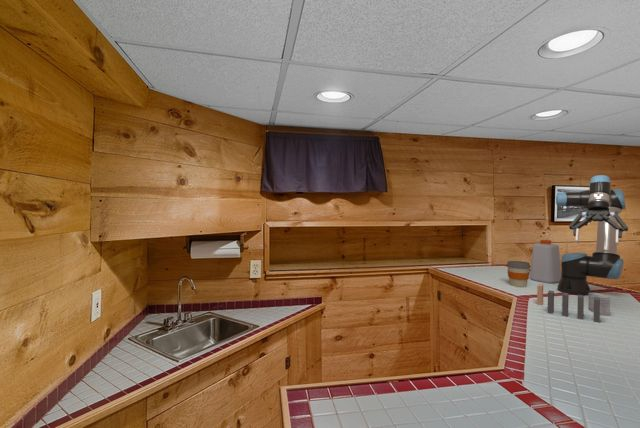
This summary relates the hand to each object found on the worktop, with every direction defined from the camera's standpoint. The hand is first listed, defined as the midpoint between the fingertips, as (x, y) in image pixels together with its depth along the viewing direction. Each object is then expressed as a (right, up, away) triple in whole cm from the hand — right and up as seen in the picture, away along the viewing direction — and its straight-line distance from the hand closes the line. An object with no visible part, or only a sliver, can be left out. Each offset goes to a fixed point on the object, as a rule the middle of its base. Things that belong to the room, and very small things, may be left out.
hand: (596, 242), depth 139 cm
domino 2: (-10, -35, +5) cm, 37 cm away
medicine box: (+8, -35, +8) cm, 37 cm away
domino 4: (-2, -35, -2) cm, 35 cm away
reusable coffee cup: (+2, -34, +58) cm, 67 cm away
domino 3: (-6, -35, +1) cm, 35 cm away
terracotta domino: (-10, -34, +21) cm, 42 cm away
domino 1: (-14, -35, +9) cm, 39 cm away
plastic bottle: (+29, -33, +70) cm, 83 cm away
